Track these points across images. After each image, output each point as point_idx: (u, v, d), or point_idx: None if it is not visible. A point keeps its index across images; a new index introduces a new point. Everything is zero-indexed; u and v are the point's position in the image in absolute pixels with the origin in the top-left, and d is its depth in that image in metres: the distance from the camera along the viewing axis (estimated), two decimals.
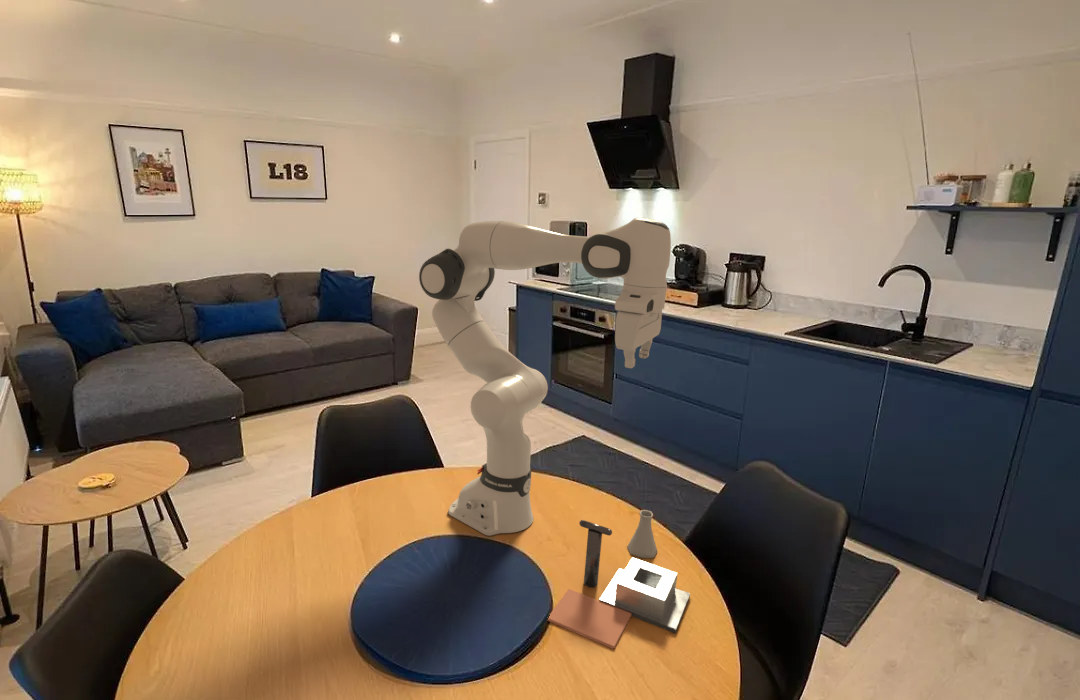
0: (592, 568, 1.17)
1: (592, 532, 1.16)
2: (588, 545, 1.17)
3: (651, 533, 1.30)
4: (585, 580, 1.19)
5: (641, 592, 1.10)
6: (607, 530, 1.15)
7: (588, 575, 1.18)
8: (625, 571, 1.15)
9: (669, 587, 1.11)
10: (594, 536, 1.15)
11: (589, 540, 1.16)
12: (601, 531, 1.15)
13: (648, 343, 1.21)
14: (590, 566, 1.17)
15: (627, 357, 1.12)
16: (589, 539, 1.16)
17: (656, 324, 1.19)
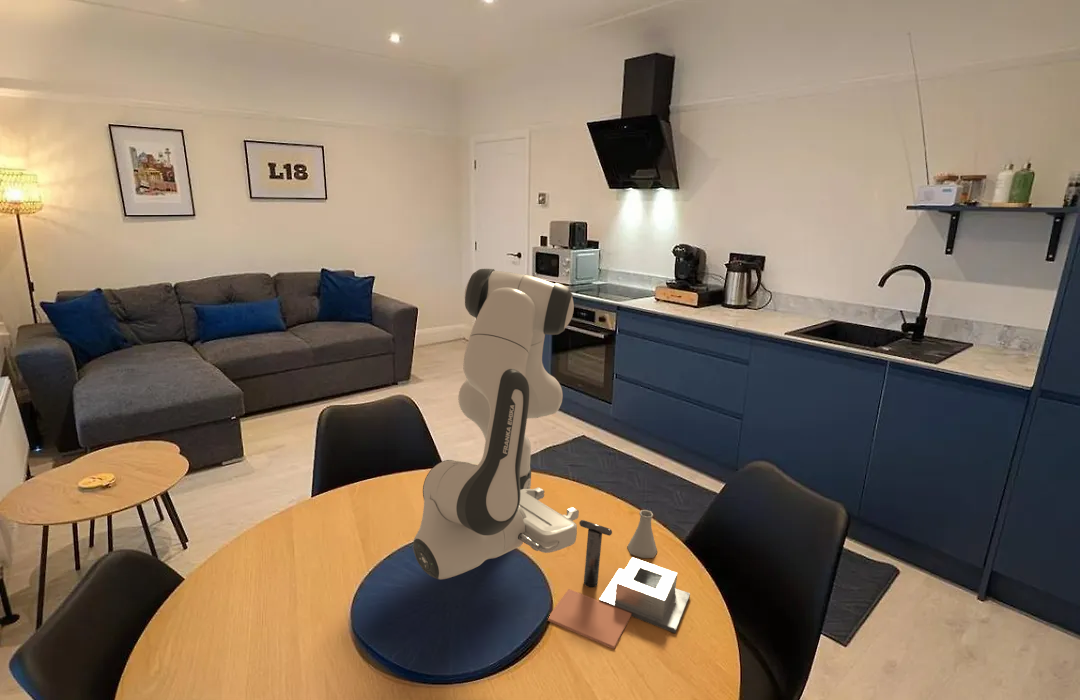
0: (592, 568, 1.17)
1: (592, 532, 1.16)
2: (588, 545, 1.17)
3: (651, 533, 1.30)
4: (585, 580, 1.19)
5: (641, 592, 1.10)
6: (607, 530, 1.15)
7: (588, 575, 1.18)
8: (625, 571, 1.15)
9: (669, 587, 1.11)
10: (594, 536, 1.15)
11: (589, 540, 1.16)
12: (601, 531, 1.15)
13: None
14: (590, 566, 1.17)
15: None
16: (589, 539, 1.16)
17: None
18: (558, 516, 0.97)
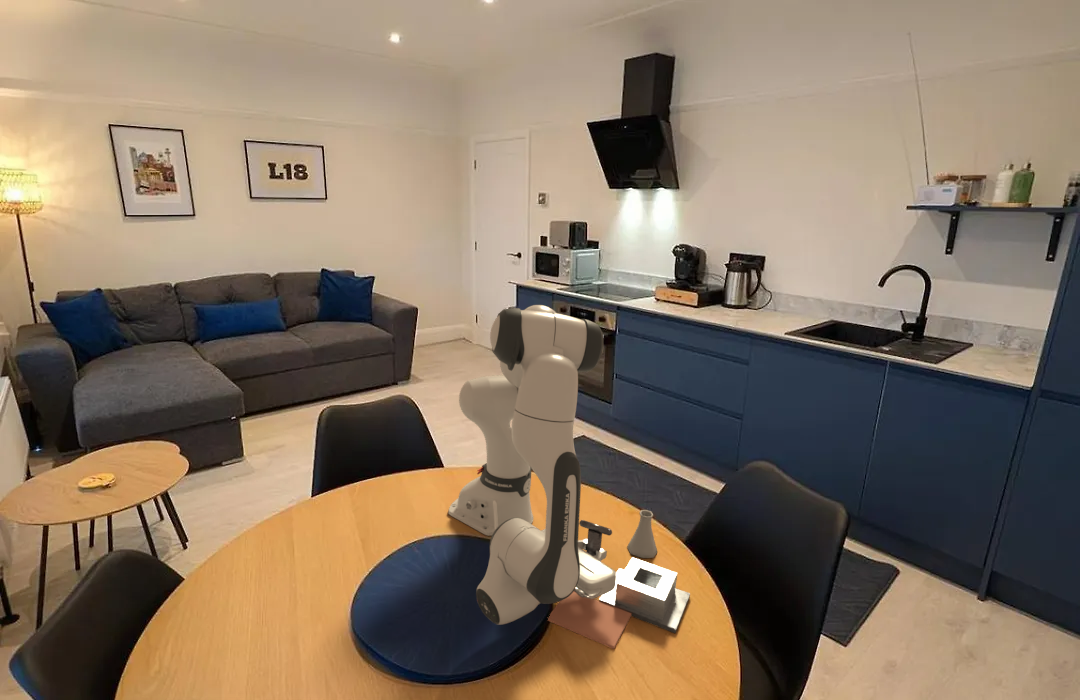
0: None
1: (592, 532, 1.16)
2: (588, 545, 1.17)
3: (651, 533, 1.30)
4: None
5: (641, 592, 1.10)
6: (607, 530, 1.15)
7: None
8: (625, 571, 1.15)
9: (669, 587, 1.11)
10: (594, 536, 1.15)
11: (589, 540, 1.16)
12: (601, 531, 1.15)
13: None
14: None
15: None
16: (589, 539, 1.16)
17: None
18: (599, 564, 1.10)
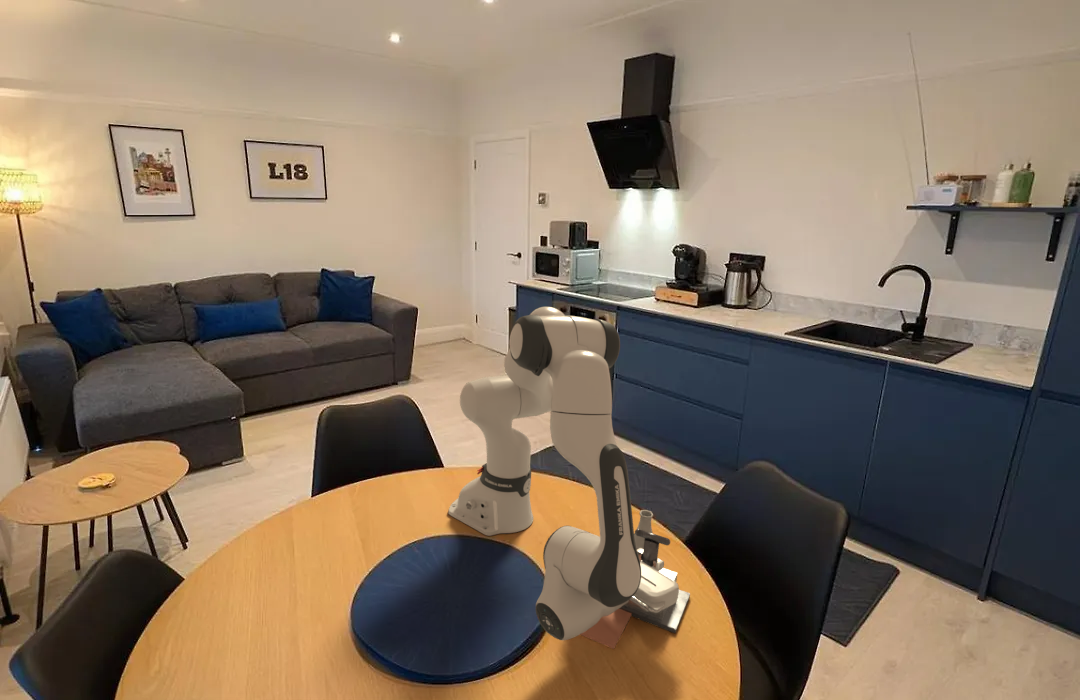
0: None
1: (649, 542, 1.11)
2: (644, 555, 1.12)
3: None
4: None
5: None
6: (665, 540, 1.10)
7: None
8: None
9: None
10: (651, 546, 1.10)
11: (646, 550, 1.11)
12: (659, 541, 1.10)
13: None
14: None
15: None
16: (646, 549, 1.11)
17: None
18: (659, 575, 1.05)
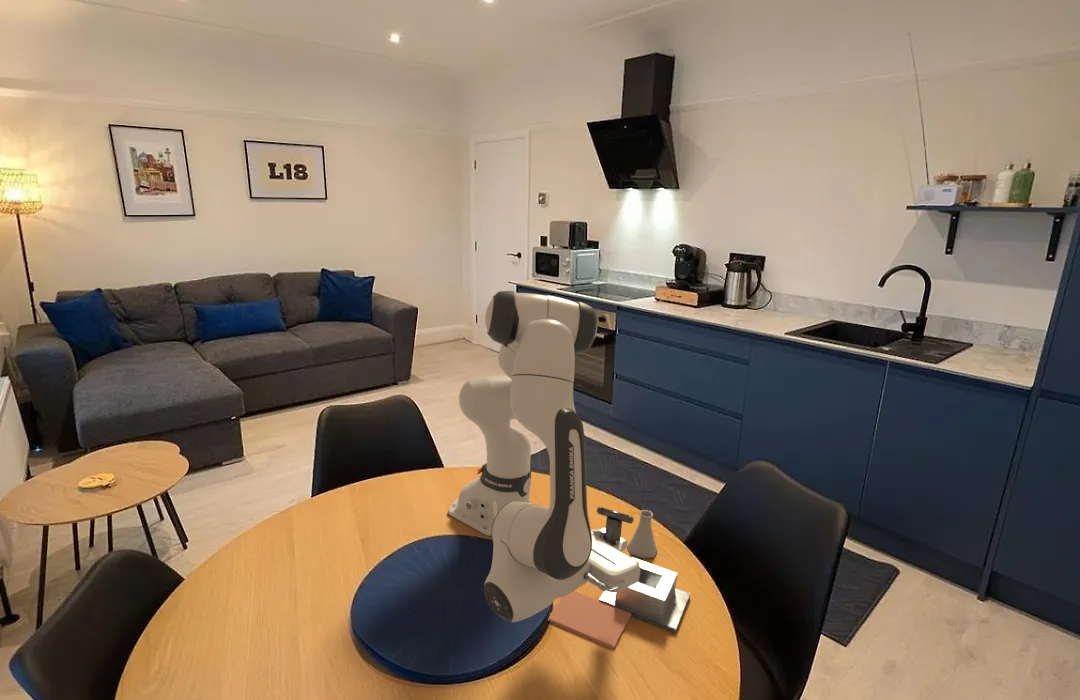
0: None
1: (611, 520, 1.05)
2: (607, 534, 1.05)
3: (651, 533, 1.30)
4: None
5: (641, 592, 1.10)
6: (628, 517, 1.04)
7: None
8: None
9: (669, 587, 1.11)
10: (614, 524, 1.04)
11: (608, 529, 1.05)
12: (621, 519, 1.04)
13: None
14: None
15: None
16: (608, 528, 1.05)
17: None
18: (620, 554, 0.99)
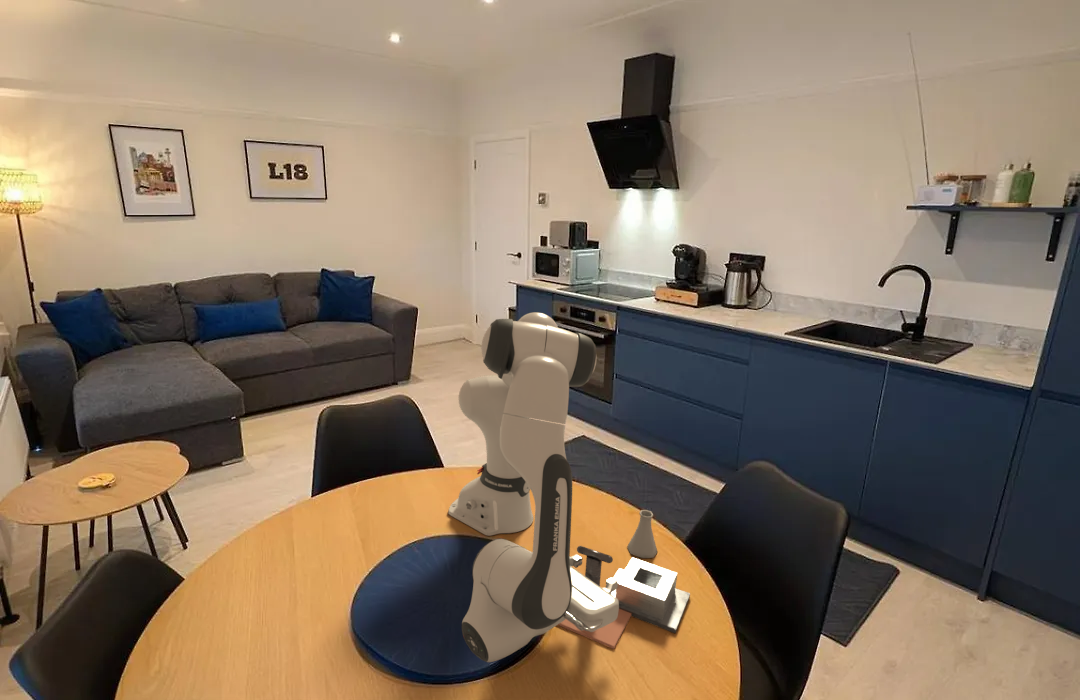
0: None
1: (591, 559, 1.05)
2: (586, 574, 1.06)
3: (651, 533, 1.30)
4: None
5: (641, 592, 1.10)
6: (607, 557, 1.04)
7: None
8: (625, 571, 1.15)
9: (669, 587, 1.11)
10: (593, 564, 1.05)
11: (587, 568, 1.06)
12: (601, 558, 1.05)
13: None
14: None
15: None
16: (587, 567, 1.06)
17: None
18: (600, 591, 0.99)
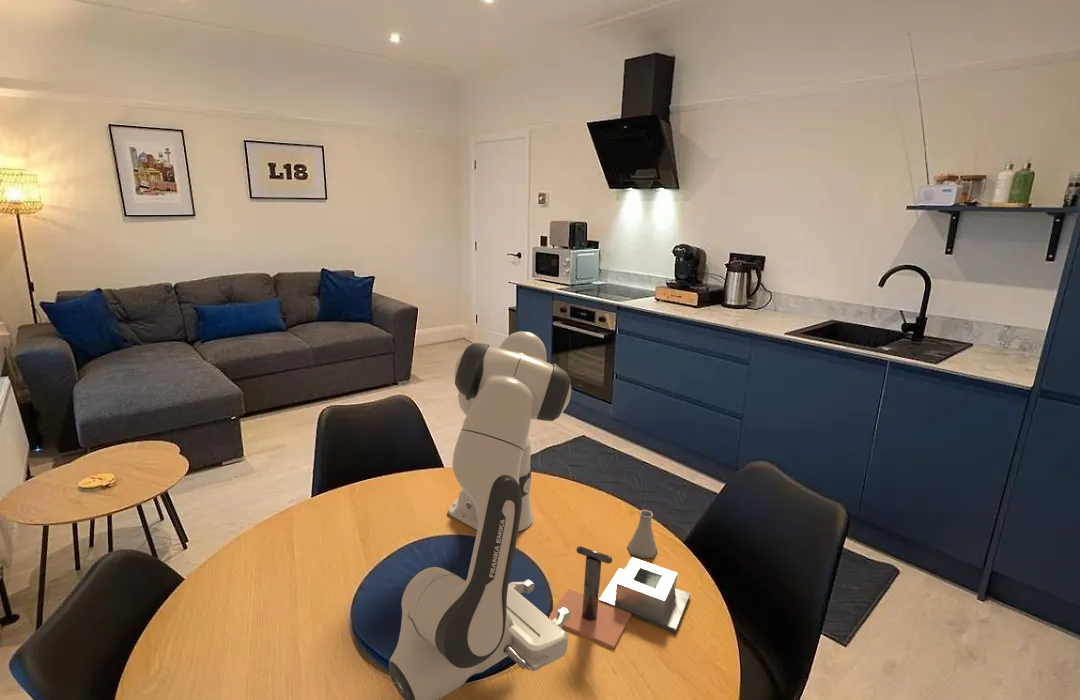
0: (591, 599, 1.07)
1: (590, 560, 1.05)
2: (586, 574, 1.06)
3: (651, 533, 1.30)
4: (583, 612, 1.08)
5: (641, 592, 1.10)
6: (607, 558, 1.04)
7: (586, 607, 1.07)
8: (625, 571, 1.15)
9: (669, 587, 1.11)
10: (592, 564, 1.05)
11: (587, 569, 1.06)
12: (600, 559, 1.05)
13: None
14: (588, 597, 1.07)
15: None
16: (587, 567, 1.06)
17: None
18: (548, 623, 0.90)
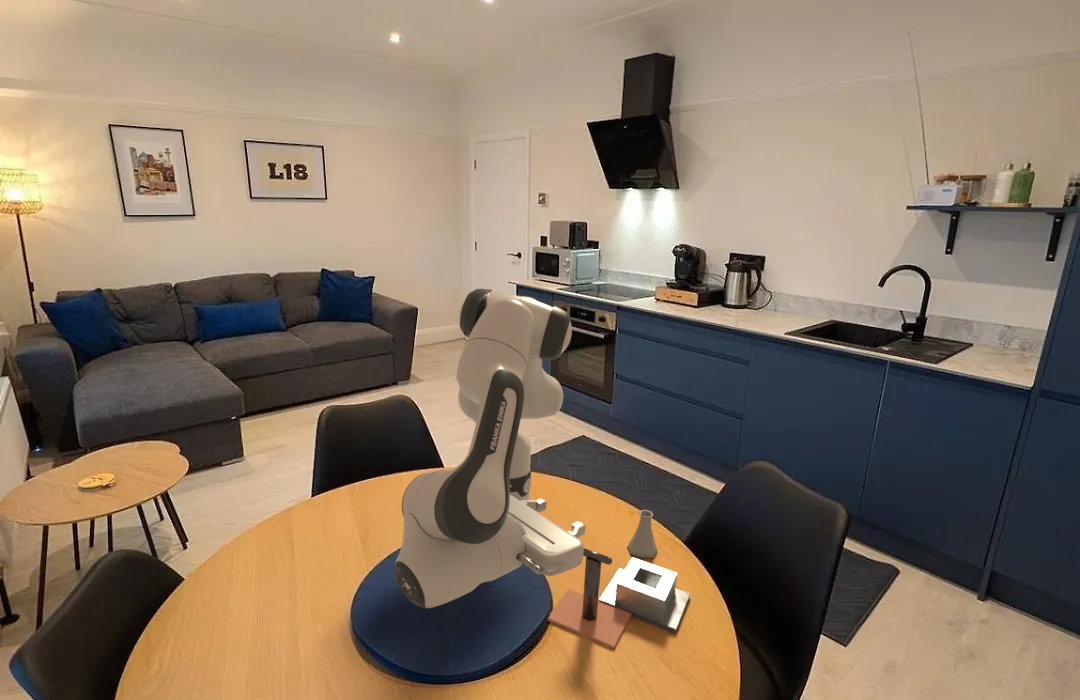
0: (590, 599, 1.06)
1: (590, 561, 1.05)
2: (586, 575, 1.06)
3: (651, 533, 1.30)
4: (583, 612, 1.08)
5: (641, 592, 1.10)
6: (607, 559, 1.04)
7: (586, 607, 1.07)
8: (625, 571, 1.15)
9: (669, 587, 1.11)
10: (592, 565, 1.05)
11: (587, 569, 1.06)
12: (600, 560, 1.04)
13: None
14: (588, 597, 1.07)
15: None
16: (587, 568, 1.05)
17: None
18: (562, 533, 0.85)
